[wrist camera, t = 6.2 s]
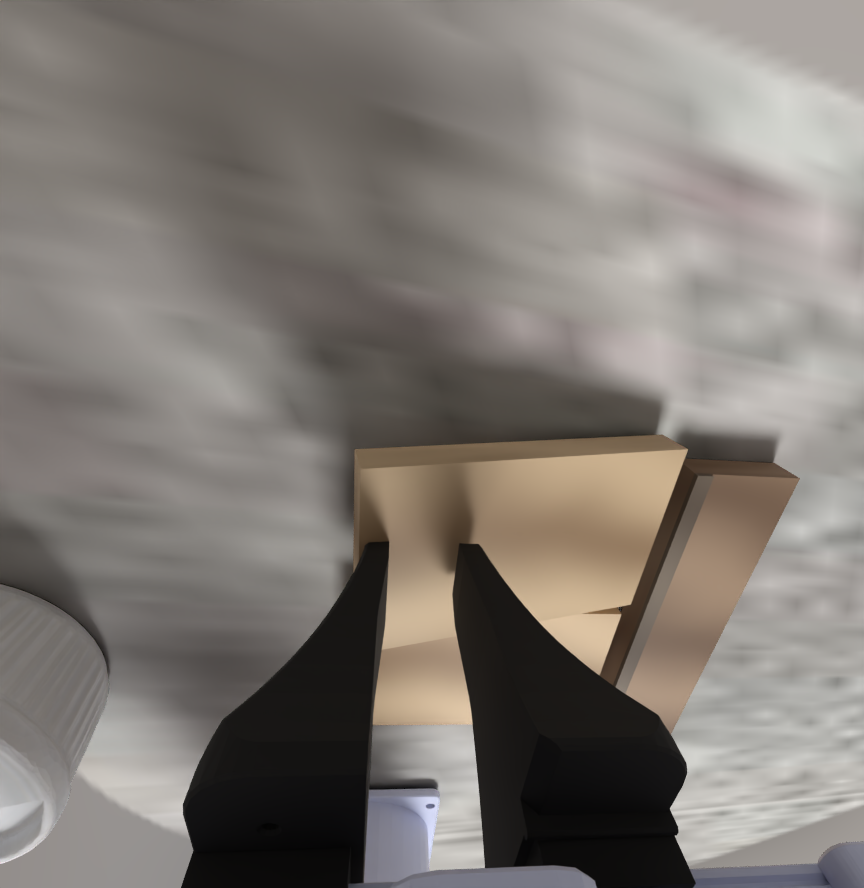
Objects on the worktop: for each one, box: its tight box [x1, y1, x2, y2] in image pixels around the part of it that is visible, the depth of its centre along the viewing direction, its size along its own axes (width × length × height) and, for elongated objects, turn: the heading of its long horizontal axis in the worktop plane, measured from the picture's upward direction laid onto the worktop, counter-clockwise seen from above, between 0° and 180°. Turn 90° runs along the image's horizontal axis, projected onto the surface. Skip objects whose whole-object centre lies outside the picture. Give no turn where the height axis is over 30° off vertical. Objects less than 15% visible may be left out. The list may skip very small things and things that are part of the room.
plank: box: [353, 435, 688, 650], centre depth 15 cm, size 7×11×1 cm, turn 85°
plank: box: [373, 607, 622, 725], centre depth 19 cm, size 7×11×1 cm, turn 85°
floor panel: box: [599, 459, 800, 734], centre depth 20 cm, size 18×4×1 cm, turn 175°
